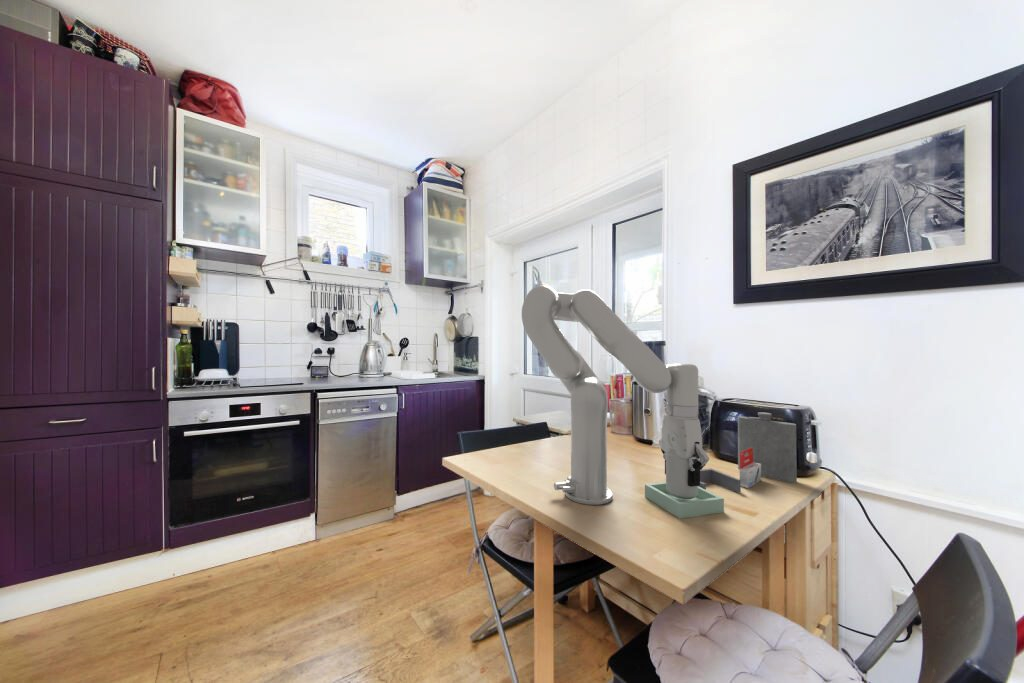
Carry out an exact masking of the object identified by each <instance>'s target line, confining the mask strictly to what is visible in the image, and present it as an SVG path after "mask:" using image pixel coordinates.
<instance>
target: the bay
mask: <svg viewBox="0 0 1024 683" xmlns="http://www.w3.org/2000/svg"><path fill="white" fill-rule="evenodd" d="M709 482H712V483H714V484H716V485H719V486H722V487H723V488H726V489H728V490H730V491H733V492H735V493H738V494H739V493H741V490H742V489H741V480H740V478H737V477H735V476H731V475H729V474H727V473H724V472H722V471H719V470H716V469H713V468H702V470H700V485H699V487H701V488H703V489H705V490H707V483H709Z"/></svg>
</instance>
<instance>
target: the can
mask: <svg viewBox="0 0 1024 683" xmlns="http://www.w3.org/2000/svg"><path fill="white" fill-rule="evenodd" d="M669 449H670V448H669ZM675 452H676V450H673V449H670V451H668V452H666V459H665V460H666V475H665V482H666V490H667V491H668V492H669V493H670V495H672V496H674V497H676V498H680V499H693V498H694V497H696V496H697V495H698V486H693V487H690V486H688V470H690V468H689V465H688V460H687V459H682V458H680V457H679V456H678V455H677V454H676V453H675ZM692 457H695V456H694V455H693V456H692ZM692 461H693V464H695V460H692Z"/></svg>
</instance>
